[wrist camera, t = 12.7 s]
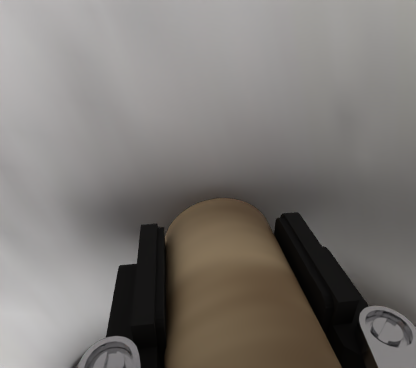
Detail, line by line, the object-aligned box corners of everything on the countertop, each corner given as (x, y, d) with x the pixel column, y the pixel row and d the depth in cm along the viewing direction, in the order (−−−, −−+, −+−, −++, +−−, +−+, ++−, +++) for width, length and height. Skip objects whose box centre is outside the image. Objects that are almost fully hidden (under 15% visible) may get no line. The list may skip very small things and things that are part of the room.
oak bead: (291, 237, 12) (394, 413, 7) (217, 298, 13) (255, 492, 8) (218, 176, 10) (278, 345, 5) (141, 251, 11) (121, 457, 6)
